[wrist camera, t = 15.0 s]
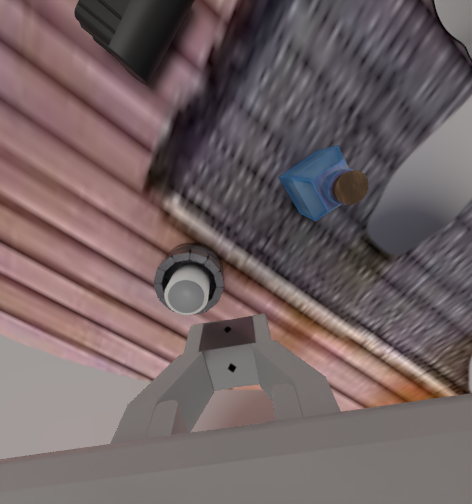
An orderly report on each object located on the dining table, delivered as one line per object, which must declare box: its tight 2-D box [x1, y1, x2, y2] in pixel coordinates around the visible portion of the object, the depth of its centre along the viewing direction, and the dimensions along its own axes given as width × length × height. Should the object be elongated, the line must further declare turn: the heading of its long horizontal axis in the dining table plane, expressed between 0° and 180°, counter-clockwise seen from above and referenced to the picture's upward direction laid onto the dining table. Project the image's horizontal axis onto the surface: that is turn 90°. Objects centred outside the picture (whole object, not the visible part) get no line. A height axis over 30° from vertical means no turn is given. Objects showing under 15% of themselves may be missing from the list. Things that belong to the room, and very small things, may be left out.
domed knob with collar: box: [154, 243, 224, 315], centre depth 34 cm, size 9×9×5 cm
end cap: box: [75, 0, 194, 85], centre depth 24 cm, size 10×7×7 cm
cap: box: [164, 262, 210, 315], centre depth 31 cm, size 5×5×5 cm
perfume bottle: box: [279, 145, 368, 221], centre depth 28 cm, size 6×6×12 cm
